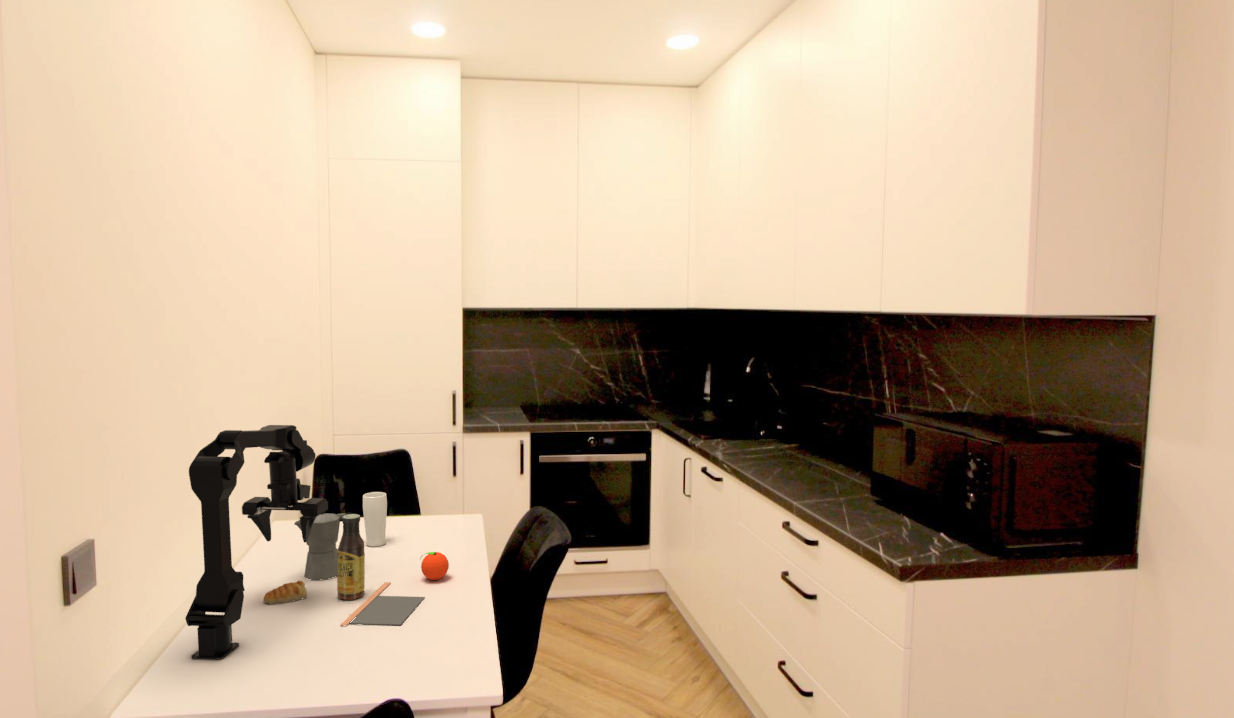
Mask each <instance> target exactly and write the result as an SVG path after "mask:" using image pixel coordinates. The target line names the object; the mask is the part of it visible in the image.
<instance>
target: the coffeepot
mask: <svg viewBox="0 0 1234 718" xmlns="http://www.w3.org/2000/svg"><path fill="white" fill-rule="evenodd" d="M348 514H353V513H352V512H345V513H337V514H336V513H325V511H324V512H323V513H322V514H320V515H318V516H317V517H316V518H315V520H314V523H313V525H312V528H311V531H310V535H309V538H308V541H307V542H305V543H306V545H307V546H308V551H307V555H306V562H305V569H304V577H305V578H306V579H307V578H308V579H307V580H309V579H311V580H310V581H321V580H320V579H327V580H329V579H328V578H331V579H333V578H332V577H334V578H336V577H335V576H337V551H338V548H337V542H338V539H339V532H340V524H341V522H342V518H343V516H344V515H348ZM293 525H295V526H297V527H298V528H299V530H300V531H301V524H300V519H298V520H296V521H295V522H294V524H293Z"/></svg>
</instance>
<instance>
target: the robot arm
mask: <svg viewBox="0 0 1234 718" xmlns="http://www.w3.org/2000/svg"><path fill="white" fill-rule="evenodd" d="M247 448H248V449H249V448H250V449H252V448H260V449H264V450H271V451H269V453H268V455H267V456H266V457H265V459H264V460H263V461H264V462H263V463H265V464H268V468H269V483H268V484H267V486H266V487H267V490H270V497H271V499H270V498H269V496H253V497H251V498H250V499H248V500H246V501H244V502H243V503H242V506H241V514H242V515H243V516H247V519H251V521H252V522H253V523H254V525H256V527H257V528H258V529H259V531H260V533H261V534H262V536H263V538H265V540H266V542H270V541H271V540H272V527H271V526H272V525H271V514H272V511H299V512H300V514H301V516H300V517H299V520H300V524H301V530H300V531H301V538H302V541H303V543H306V542H307V541H308V538H309V535H310V531H311V528H312V525H313V523H314V520H315V518H316V517H317V516H318V515H320V514H322V513H323V512H324V513H325V512H326V511H327V510H329V502H328V501H327V499H326V498H324V497H323V498H321V497H310V496H311V495H310V494H311V485H309V484H303V483H302V484H301V480H300V478H298V477H297V472H299V471H301V470H303V469H305V468H307V467H309V466H311V465H312V464H314V462H315V460H316V452H315V451H314V449H313V448H312V446H310V445H308V440H306V439H305V440H304V439H303V437H302V435H301V433H300V431H299V430H298V429H297V426H296V425H295V424H294V425H292V424H286V425H285V424H269V425H265V426H262V427H261V428H260V429H258V430H256V429H255V430H241V429H239V430H236V429H235V430H234V429H232V430H231V429H226V430H223V431H220V432H219V433H218V434H217V435H216V437H215V439H214V440H213V441H211V442H210V443H208V444H207V445H205V446H204V447H203V448H201V449H200V450H199V451H198V453H197V454H196V456H195V457H194V459H193V460H192V462H191V463H190V465H189V467H188V476H189V482H190V483H189V484H190V488H191V491H192V492H193V493H194V495H195V496H196V497H197V498H198V500H199V502H200V507H201V510H200V511H201V527H202V528H201V530H202V545H203V546H202V547H203V567H204V570H203V571H204V572H203V573H202V575H201V577H200V579H199V580H198V582H197V584H196V589H195V596H194V599H193V601H192V603H191V605H190V607H189V609H188V611H187V614H186V615H185V621H186V625H187V626H188V627H197V646H198V649H197V651H195V652H194V653H193V654H191V655H190V656H191V657H190V658H191V659H200V660H201V659H202V660H203V659H205V660H206V659H207V660H209V659H210V660H221V659H224V658H225V657H227V655H229V654H230V653H232V652H233V651H234V650H235V649H236V648H238V647H239V646H240V642H233V629H232V628H233V627H232V625H233V624H235V623H237V622H238V621H239V620H240V619H241V617H242V611H243V606H244V605H243V604H244V598H245V595H244V593H245V586H244V573H243V571H236V570H235V569H234V568H233V564H232V543H231V542H232V541H231V539H232V538H231V521H230V504H229V503H230V499H229V498H230V496H231V495H232V493H233V491H234V489H235V488H236V486H237V484H238V474H239V473H240V471H241V469H242V468H243V466H244V464H245V456H244V455H245V454H244V451H245V450H246V449H247ZM225 450H235V451H234V453H233V455H232V456H220V455H221V454H223V453H224V452H225ZM304 499H307V500H306V501H304V502H300V501H302V500H304ZM209 613H210V614H209ZM211 613H219V614H211ZM220 613H222V614H220ZM223 613H224V614H223Z"/></svg>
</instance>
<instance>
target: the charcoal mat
mask: <svg viewBox="0 0 1234 718" xmlns="http://www.w3.org/2000/svg"><path fill="white" fill-rule="evenodd" d="M424 599H425V596H405V595H404V596H401V595H400V596H399V595H397V596H396V595H379V596H377V597H376V598H375V599H374V600H373V601H372V602H371V603H370V604H369V605H368V606H367V607H366V608H365V609H364V610H363V611H362V612H361V613H360V614H359V615H358V616H357V617H356V618H355V619H354V620H353V621H352V622H351V623H350V624H349V625H351V624H363V625H364V626H390V625H391V627H392V626H394V625H396V626H394V627H397V626H399V627H401V626H402V625H403V624H404V623H405V622H404V621H407V619H408V618H409V617H410V616H411V615H412V613H413V612H414V611H415V610H416V609H417V608H418V606H419V605H421V603H422V602H423V601H424ZM416 607H417V608H416ZM415 608H416V609H415ZM410 614H411V615H410ZM409 615H410V616H409Z"/></svg>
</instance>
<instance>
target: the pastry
mask: <svg viewBox="0 0 1234 718" xmlns="http://www.w3.org/2000/svg"><path fill="white" fill-rule="evenodd" d="M307 596H308V592H307V588H306V586H305V582H304V581H303V580H297V581H295V582H288V583H287V582H286V583H284V584H282V585H279V586H278V587H276V588H273V589H271V590H270V591H268V592H266V593H265V594H264V596H263V602H264V603H267V604H268V605H276V603H279V604H285V603H284V602H287V603H290V602H289V601H292V602H294V601H293V600H297V601H299V600H298V599H302V598H305V597H306V598H307ZM306 598H305V599H306ZM302 600H303V599H302Z"/></svg>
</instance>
